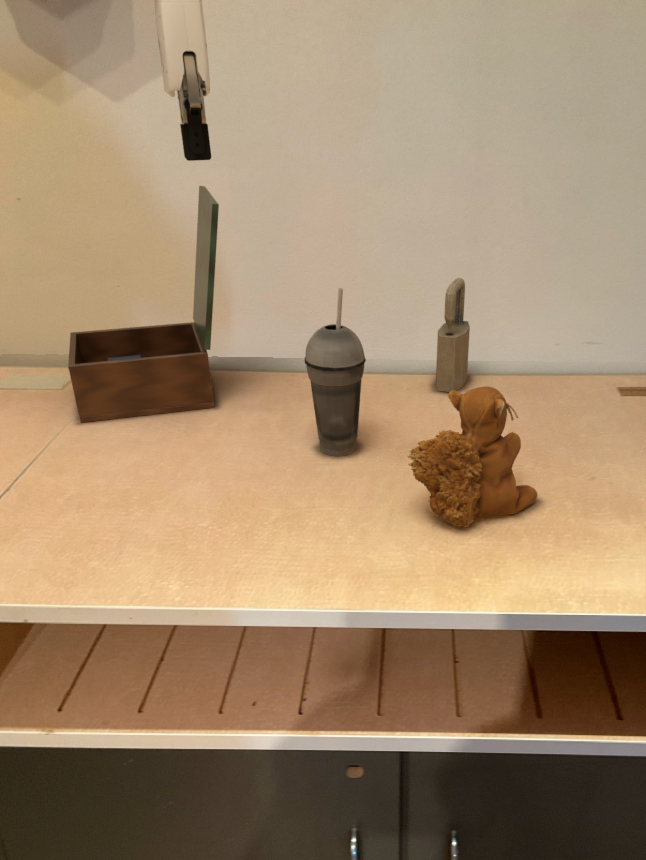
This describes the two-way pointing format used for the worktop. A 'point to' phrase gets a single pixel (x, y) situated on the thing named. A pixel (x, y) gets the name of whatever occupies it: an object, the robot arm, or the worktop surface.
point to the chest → (139, 371)
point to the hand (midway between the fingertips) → (198, 159)
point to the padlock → (453, 341)
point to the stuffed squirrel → (473, 462)
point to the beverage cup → (336, 384)
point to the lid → (205, 265)
